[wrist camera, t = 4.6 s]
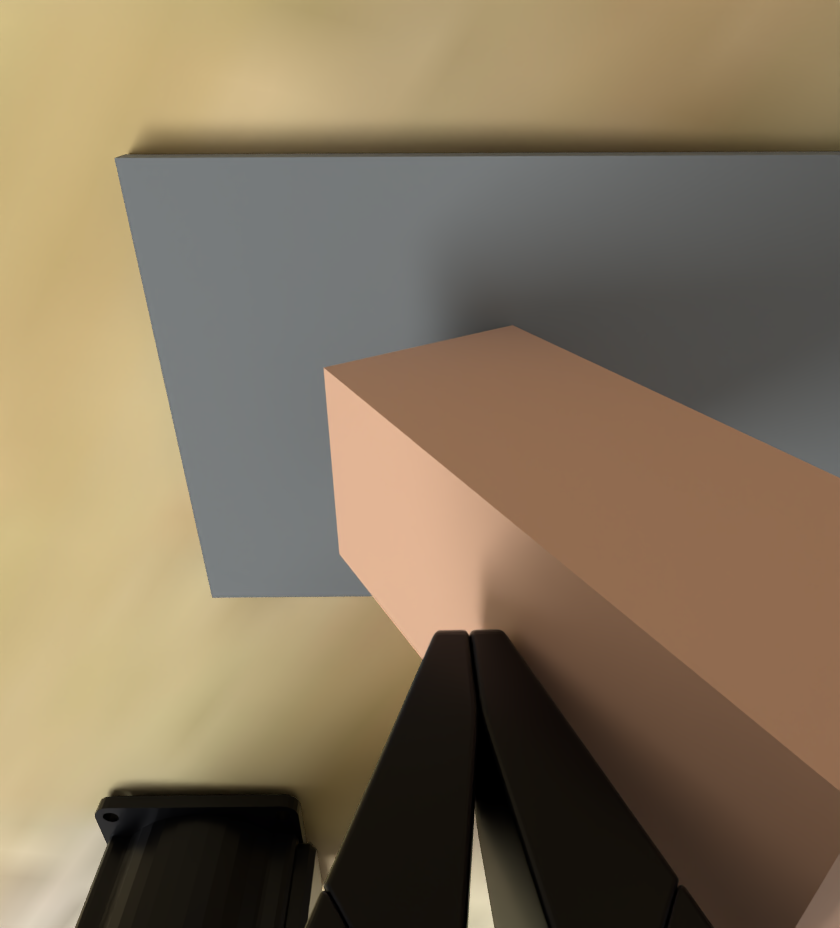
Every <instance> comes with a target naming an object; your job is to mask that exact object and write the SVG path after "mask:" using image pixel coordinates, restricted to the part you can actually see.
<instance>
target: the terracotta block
mask: <svg viewBox="0 0 840 928" xmlns="http://www.w3.org/2000/svg"><path fill="white" fill-rule="evenodd" d="M324 379H325V391H326V403H327V414H328V426H329V438H330V450H331V461H332V473H333V485H334V497H335V509H336V520H337V532H338V544H339V554H340V555H341V557H342V558H343V559H344V561H345V562H346V563H347V564H348V566H349V567H350V568H351V569H352V571H353V572H354V573H355V575H356V576H357V577H358V578H359V580H360V581H361V582H362V583H363V585H364V586H365V587H366V589H367V590H368V591H369V592H370V594H371V595H372V596H373V597H374V599H375V600H376V601H377V602H378V604H379V605H380V606H381V608H382V609H383V610H384V611H385V613H386V614H387V615H388V616H389V618H390V619H391V620H392V622H393V623H394V624H395V625H396V627H397V628H398V629H399V630H400V632H401V633H402V634H403V635H404V637H405V638H406V639H407V641H408V642H409V643H410V644H411V646H412V647H413V648H414V649H415V651H416V652H417V653H418V655H419V656H420V657H421V658H422V660H423V658H424V655H425V653H426V651H427V648H428V646H429V644H430V642H431V639H432V637H433V635H434V634H435V632H437V631H438V630H465V631H467V632H468V634H470V632H471V631H473V630H481V629H500V630H502V631H503V632H505V634H506V635H507V636H508V638H509V639H510V640H511V642H512V643H513V645H514V646H515V647H516V649H517V650H518V652H519V653H520V655H521V656H522V657H523V659H524V660H525V662H526V663H527V664H528V666H529V667H530V669H531V670H532V671H533V673H534V674H535V676H536V677H537V679H538V680H539V681H540V683H541V684H542V686H543V687H544V688H545V690H546V691H547V693H548V694H549V695H550V697H551V698H552V700H553V701H554V703H555V704H556V705H557V707H558V708H559V710H560V711H561V712H562V714H563V715H564V717H565V718H566V719H567V721H568V722H569V724H570V725H571V727H572V728H573V729H574V731H575V732H576V734H577V735H578V736H579V738H580V739H581V741H582V742H583V744H584V745H585V746H586V748H587V749H588V751H589V752H590V753H591V755H592V756H593V758H594V759H595V760H596V762H597V763H598V765H599V766H600V768H601V769H602V770H603V772H604V773H605V775H606V776H607V777H608V779H609V780H610V782H611V783H612V784H613V786H614V787H615V789H616V790H617V792H618V793H619V794H620V796H621V797H622V799H623V800H624V801H625V803H626V804H627V806H628V807H629V808H630V810H631V811H632V813H633V814H634V816H635V817H636V818H637V820H638V821H639V823H640V824H641V825H642V827H643V828H644V830H645V831H646V832H647V834H648V835H649V837H650V838H651V840H652V841H653V842H654V844H655V845H656V847H657V848H658V849H659V851H660V852H661V854H662V855H663V856H664V858H665V859H666V861H667V862H668V864H669V865H670V866H671V868H672V869H673V871H674V872H675V873H676V875H677V876H678V879H679V883H678V886H679V885H683V886H685V887H686V888H687V890H688V891H689V893H690V894H691V895H692V897H693V898H694V900H695V901H696V903H697V904H698V905H699V907H700V908H701V910H702V911H703V913H704V914H705V915H706V917H707V918H708V920H709V921H710V922H711V924H712V925H713V927H714V928H840V478H839V477H837V476H834V475H832V474H830V473H828V472H826V471H824V470H822V469H819V468H817V467H815V466H813V465H811V464H809V463H807V462H804V461H802V460H800V459H798V458H796V457H794V456H792V455H790V454H787V453H785V452H783V451H781V450H779V449H777V448H775V447H772V446H770V445H768V444H766V443H764V442H762V441H760V440H757V439H755V438H753V437H751V436H749V435H747V434H745V433H742V432H740V431H738V430H736V429H734V428H732V427H730V426H727V425H725V424H723V423H721V422H719V421H717V420H715V419H712V418H710V417H708V416H706V415H704V414H702V413H700V412H697V411H695V410H693V409H691V408H689V407H687V406H685V405H682V404H680V403H678V402H676V401H674V400H672V399H670V398H667V397H665V396H663V395H661V394H659V393H657V392H655V391H652V390H650V389H648V388H646V387H644V386H642V385H640V384H638V383H635V382H633V381H631V380H629V379H627V378H625V377H623V376H620V375H618V374H616V373H614V372H612V371H610V370H608V369H605V368H603V367H601V366H599V365H597V364H595V363H593V362H590V361H588V360H586V359H584V358H582V357H580V356H578V355H575V354H573V353H571V352H569V351H567V350H565V349H563V348H560V347H558V346H556V345H554V344H552V343H550V342H548V341H545V340H543V339H541V338H539V337H537V336H535V335H533V334H530V333H528V332H526V331H524V330H522V329H520V328H518V327H515V326H513V325H511V326H506V327H502V328H498V329H493V330H489V331H484V332H480V333H475V334H471V335H466V336H462V337H457V338H453V339H449V340H444V341H440V342H435V343H431V344H426V345H422V346H417V347H413V348H408V349H404V350H400V351H395V352H391V353H386V354H382V355H377V356H373V357H368V358H364V359H360V360H355V361H351V362H346V363H342V364H337V365H333V366H328V367H324ZM678 886H677V887H678Z"/></svg>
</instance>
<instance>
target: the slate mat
mask: <svg viewBox="0 0 840 928" xmlns="http://www.w3.org/2000/svg"><path fill="white" fill-rule="evenodd" d="M115 162H116V167H117V171H118V176H119V180H120V185H121V189H122V194H123V198H124V203H125V207H126V212H127V216H128V221H129V225H130V230H131V234H132V239H133V243H134V248H135V252H136V257H137V261H138V266H139V270H140V275H141V279H142V284H143V288H144V293H145V297H146V302H147V306H148V311H149V315H150V320H151V324H152V329H153V333H154V338H155V342H156V347H157V351H158V356H159V360H160V365H161V369H162V374H163V378H164V383H165V387H166V392H167V396H168V401H169V405H170V410H171V414H172V419H173V423H174V428H175V432H176V437H177V441H178V446H179V450H180V455H181V459H182V464H183V468H184V473H185V477H186V482H187V486H188V491H189V495H190V500H191V504H192V509H193V513H194V518H195V522H196V527H197V531H198V536H199V540H200V545H201V549H202V554H203V558H204V563H205V567H206V572H207V576H208V581H209V585H210V590H211V594H212V598H221V597H333V596H372V595H371V594H370V592H369V591H368V590H367V589H366V587H365V586H364V585H363V583H362V582H361V581H360V580H359V578H358V577H357V576H356V575H355V573H354V572H353V571H352V569H351V568H350V567H349V566H348V564H347V563H346V562H345V561H344V559H343V558H342V557H341V555H340V554H339V544H338V532H337V520H336V509H335V497H334V485H333V473H332V461H331V450H330V438H329V426H328V414H327V403H326V391H325V379H324V367H328V366H333V365H337V364H342V363H346V362H351V361H355V360H360V359H364V358H368V357H373V356H377V355H382V354H386V353H391V352H395V351H400V350H404V349H408V348H413V347H417V346H422V345H426V344H431V343H435V342H440V341H444V340H449V339H453V338H457V337H462V336H466V335H471V334H475V333H480V332H484V331H489V330H493V329H498V328H502V327H506V326H511V325H513V326H515V327H518V328H520V329H522V330H524V331H526V332H528V333H530V334H533V335H535V336H537V337H539V338H541V339H543V340H545V341H548V342H550V343H552V344H554V345H556V346H558V347H560V348H563V349H565V350H567V351H569V352H571V353H573V354H575V355H578V356H580V357H582V358H584V359H586V360H588V361H590V362H593V363H595V364H597V365H599V366H601V367H603V368H605V369H608V370H610V371H612V372H614V373H616V374H618V375H620V376H623V377H625V378H627V379H629V380H631V381H633V382H635V383H638V384H640V385H642V386H644V387H646V388H648V389H650V390H652V391H655V392H657V393H659V394H661V395H663V396H665V397H667V398H670V399H672V400H674V401H676V402H678V403H680V404H682V405H685V406H687V407H689V408H691V409H693V410H695V411H697V412H700V413H702V414H704V415H706V416H708V417H710V418H712V419H715V420H717V421H719V422H721V423H723V424H725V425H727V426H730V427H732V428H734V429H736V430H738V431H740V432H742V433H745V434H747V435H749V436H751V437H753V438H755V439H757V440H760V441H762V442H764V443H766V444H768V445H770V446H772V447H775V448H777V449H779V450H781V451H783V452H785V453H787V454H790V455H792V456H794V457H796V458H798V459H800V460H802V461H804V462H807V463H809V464H811V465H813V466H815V467H817V468H819V469H822V470H824V471H826V472H828V473H830V474H832V475H834V476H837V477H839V478H840V151H814V152H583V153H351V154H125V155H122V156H119V157H116V158H115Z"/></svg>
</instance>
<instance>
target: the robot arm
mask: <svg viewBox="0 0 840 928" xmlns="http://www.w3.org/2000/svg"><path fill="white" fill-rule="evenodd" d="M474 811H475V815H476V822H477V829H478V836H479V842H480V847H481V853H482V859H483V865H484V870H485V876H486V882H487V888H488V893H489V899H490V905H491V911H492V916H493V922H494V928H714V927H713V925H712V924H711V922H710V921H709V920H708V918H707V917H706V915H705V914H704V913H703V911H702V910H701V908H700V907H699V905H698V904H697V903H696V901H695V900H694V898H693V897H692V895H691V894H690V893H689V891H688V890H687V888H686V887H685V886H683V885H679V886H678V883H679V879H678V876H677V875H676V873H675V872H674V871H673V869H672V868H671V866H670V865H669V864H668V862H667V861H666V859H665V858H664V856H663V855H662V854H661V852H660V851H659V849H658V848H657V847H656V845H655V844H654V842H653V841H652V840H651V838H650V837H649V835H648V834H647V832H646V831H645V830H644V828H643V827H642V825H641V824H640V823H639V821H638V820H637V818H636V817H635V816H634V814H633V813H632V811H631V810H630V808H629V807H628V806H627V804H626V803H625V801H624V800H623V799H622V797H621V796H620V794H619V793H618V792H617V790H616V789H615V787H614V786H613V784H612V783H611V782H610V780H609V779H608V777H607V776H606V775H605V773H604V772H603V770H602V769H601V768H600V766H599V765H598V763H597V762H596V760H595V759H594V758H593V756H592V755H591V753H590V752H589V751H588V749H587V748H586V746H585V745H584V744H583V742H582V741H581V739H580V738H579V736H578V735H577V734H576V732H575V731H574V729H573V728H572V727H571V725H570V724H569V722H568V721H567V719H566V718H565V717H564V715H563V714H562V712H561V711H560V710H559V708H558V707H557V705H556V704H555V703H554V701H553V700H552V698H551V697H550V695H549V694H548V693H547V691H546V690H545V688H544V687H543V686H542V684H541V683H540V681H539V680H538V679H537V677H536V676H535V674H534V673H533V671H532V670H531V669H530V667H529V666H528V664H527V663H526V662H525V660H524V659H523V657H522V656H521V655H520V653H519V652H518V650H517V649H516V647H515V646H514V645H513V643H512V642H511V640H510V639H509V638H508V636H507V635H506V634H505V632H503V631H502V630H500V629H481V630H473V631H471V632H470V634H468V632H467V631H465V630H438V631H437V632H435V634H434V635H433V637H432V639H431V642H430V644H429V646H428V648H427V651H426V653H425V655H424V658H423V660H422V662H421V664H420V667H419V669H418V671H417V674H416V676H415V678H414V680H413V683H412V685H411V687H410V690H409V692H408V694H407V696H406V699H405V701H404V703H403V705H402V708H401V710H400V712H399V715H398V717H397V719H396V721H395V724H394V726H393V728H392V731H391V733H390V735H389V737H388V740H387V742H386V744H385V747H384V749H383V751H382V753H381V756H380V758H379V760H378V762H377V765H376V767H375V769H374V772H373V774H372V776H371V778H370V781H369V783H368V785H367V788H366V790H365V792H364V794H363V797H362V799H361V801H360V804H359V806H358V808H357V810H356V813H355V815H354V817H353V819H352V822H351V824H350V826H349V829H348V831H347V833H346V835H345V838H344V840H343V842H342V845H341V847H340V849H339V851H338V854H337V856H336V858H335V861H334V863H333V865H332V867H331V870H330V872H329V874H328V876H327V879H326V881H325V883H324V888H325V891H322V881H321V874H320V868H319V861H318V855H317V849H316V848H315V847H314V846H313V844H312V843H307V841H306V835H305V829H304V823H303V817H302V811H301V805H300V802H299V800H298V799H297V798H295V797H293V796H290V795H284V794H278V795H187V796H111V797H105V798H103V799H102V800H101V801H100V803H99V806H98V808H97V810H96V813H95V818H96V820H97V823H98V825H99V827H100V829H101V832H102V834H103V836H104V838H105V840H106V843H107V847H106V849H105V852H104V855H103V857H102V860H101V862H100V865H99V867H98V870H97V873H96V875H95V878H94V880H93V883H92V885H91V888H90V891H89V893H88V896H87V898H86V901H85V903H84V906H83V908H82V911H81V914H80V916H79V919H78V921H77V924H76V926H75V928H468V917H469V899H470V882H471V865H472V847H473V829H474ZM677 886H678V887H677Z"/></svg>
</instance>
